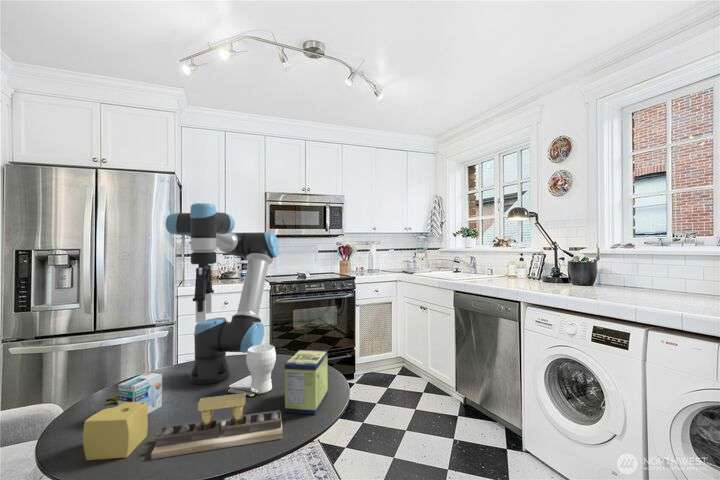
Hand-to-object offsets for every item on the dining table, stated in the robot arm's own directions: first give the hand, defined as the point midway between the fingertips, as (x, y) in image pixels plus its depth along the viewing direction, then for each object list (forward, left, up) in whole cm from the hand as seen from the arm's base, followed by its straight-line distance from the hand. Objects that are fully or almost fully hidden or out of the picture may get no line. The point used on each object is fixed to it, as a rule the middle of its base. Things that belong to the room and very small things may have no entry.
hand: (204, 317), depth 108 cm
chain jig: (+17, +7, -30) cm, 35 cm away
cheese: (+15, -19, -31) cm, 39 cm away
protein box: (+3, +33, -31) cm, 45 cm away
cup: (-12, +17, -30) cm, 37 cm away
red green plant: (-19, -29, -31) cm, 46 cm away
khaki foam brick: (+17, +7, -29) cm, 34 cm away
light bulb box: (-5, -20, -31) cm, 37 cm away
